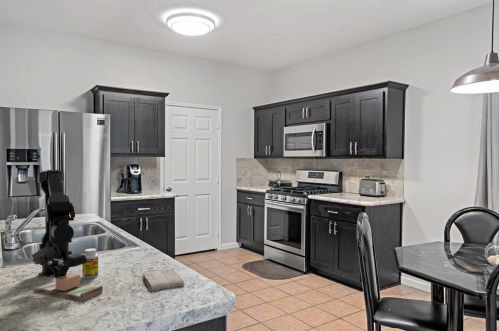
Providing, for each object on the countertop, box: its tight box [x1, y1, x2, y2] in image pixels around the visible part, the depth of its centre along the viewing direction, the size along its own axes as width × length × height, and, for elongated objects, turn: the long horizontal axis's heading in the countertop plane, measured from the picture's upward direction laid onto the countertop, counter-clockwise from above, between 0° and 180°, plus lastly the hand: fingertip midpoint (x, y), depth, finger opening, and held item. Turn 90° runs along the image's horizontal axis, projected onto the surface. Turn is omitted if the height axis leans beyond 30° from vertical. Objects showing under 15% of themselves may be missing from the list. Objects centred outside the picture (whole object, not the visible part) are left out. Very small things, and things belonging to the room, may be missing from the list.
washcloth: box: [142, 267, 185, 292], centre depth 131 cm, size 12×18×3 cm, turn 28°
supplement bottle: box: [81, 248, 99, 279], centre depth 136 cm, size 6×6×10 cm
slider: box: [55, 272, 81, 291], centre depth 120 cm, size 4×6×4 cm, turn 157°
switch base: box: [33, 280, 104, 302], centre depth 120 cm, size 22×8×2 cm, turn 67°
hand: (59, 283), depth 122 cm, fingers closed
